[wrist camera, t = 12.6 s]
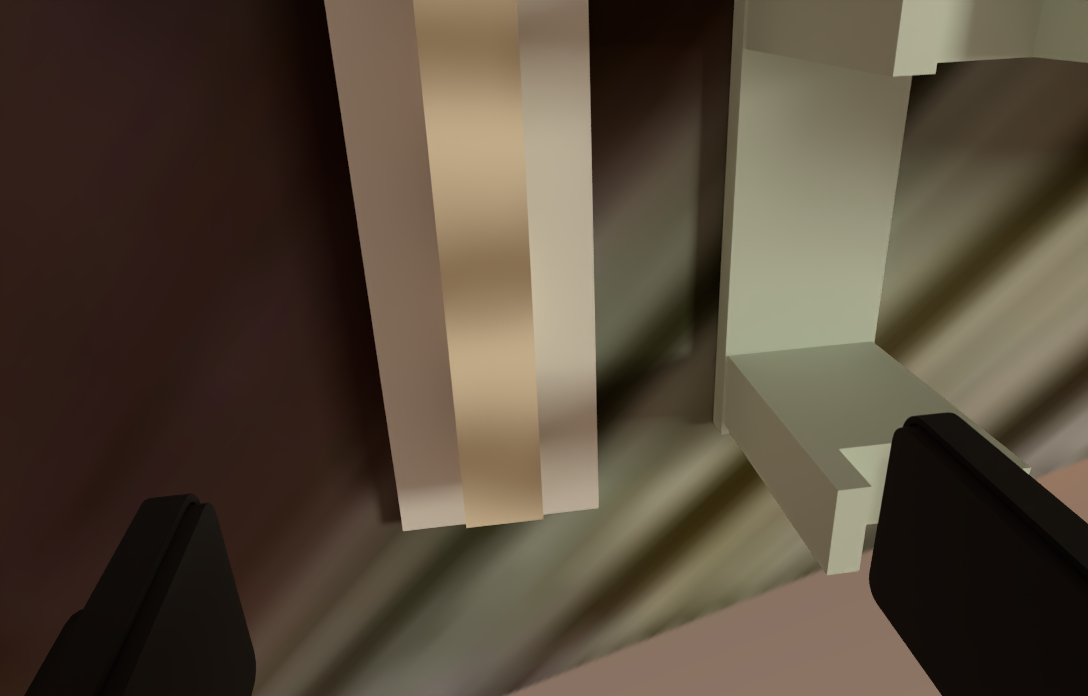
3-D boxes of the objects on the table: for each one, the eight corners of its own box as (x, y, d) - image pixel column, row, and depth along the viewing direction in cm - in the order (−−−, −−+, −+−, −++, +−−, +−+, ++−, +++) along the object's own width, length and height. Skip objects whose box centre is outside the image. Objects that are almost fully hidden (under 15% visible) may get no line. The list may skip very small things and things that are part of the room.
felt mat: (302, -171, 22) (298, -176, 22) (579, -179, 23) (584, -184, 22) (403, 519, 32) (403, 531, 32) (594, 496, 33) (598, 507, 33)
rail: (404, -99, 23) (401, -111, 20) (501, -102, 23) (511, -114, 20) (463, 480, 31) (466, 528, 28) (533, 473, 31) (543, 518, 29)
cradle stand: (737, -71, 25) (912, -106, 16) (916, -79, 26) (1182, -116, 17) (712, 422, 33) (821, 588, 23) (851, 407, 33) (1009, 563, 24)
